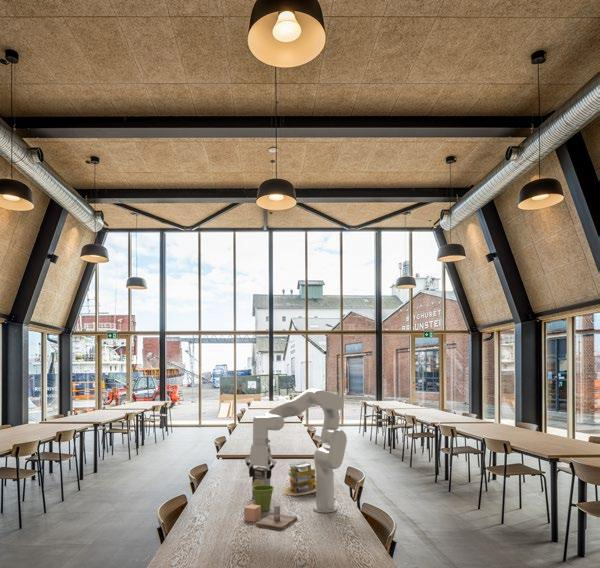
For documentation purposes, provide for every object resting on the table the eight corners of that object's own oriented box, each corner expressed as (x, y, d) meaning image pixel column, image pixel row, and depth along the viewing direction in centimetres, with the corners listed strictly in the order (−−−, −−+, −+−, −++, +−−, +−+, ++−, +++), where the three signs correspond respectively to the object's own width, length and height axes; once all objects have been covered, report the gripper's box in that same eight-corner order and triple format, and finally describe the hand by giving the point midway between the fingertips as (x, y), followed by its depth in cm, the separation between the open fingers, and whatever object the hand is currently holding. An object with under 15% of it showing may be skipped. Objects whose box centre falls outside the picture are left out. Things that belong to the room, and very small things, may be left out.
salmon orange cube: (250, 516, 254) (250, 504, 255) (260, 518, 251) (260, 505, 252) (244, 520, 249) (244, 507, 249) (254, 521, 246) (254, 509, 247)
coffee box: (251, 497, 286) (251, 468, 288) (258, 495, 291) (258, 466, 293) (264, 500, 281) (264, 470, 283) (271, 497, 286) (270, 468, 288)
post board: (272, 516, 254) (272, 499, 255) (297, 520, 248) (297, 503, 249) (256, 526, 240) (256, 508, 241) (281, 530, 234) (281, 512, 235)
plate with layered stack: (281, 497, 287) (280, 467, 289) (286, 485, 311) (286, 457, 313) (323, 497, 284) (323, 467, 287) (325, 485, 309) (325, 458, 311)
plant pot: (277, 511, 261) (277, 489, 263) (255, 514, 257) (255, 491, 258) (270, 505, 272) (270, 483, 274) (249, 507, 268) (249, 485, 269)
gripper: (279, 441, 247) (279, 477, 245) (249, 439, 255) (248, 474, 252) (272, 444, 241) (272, 481, 238) (241, 441, 248) (241, 477, 246)
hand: (260, 477), depth 245 cm, fingers open, 9 cm apart
